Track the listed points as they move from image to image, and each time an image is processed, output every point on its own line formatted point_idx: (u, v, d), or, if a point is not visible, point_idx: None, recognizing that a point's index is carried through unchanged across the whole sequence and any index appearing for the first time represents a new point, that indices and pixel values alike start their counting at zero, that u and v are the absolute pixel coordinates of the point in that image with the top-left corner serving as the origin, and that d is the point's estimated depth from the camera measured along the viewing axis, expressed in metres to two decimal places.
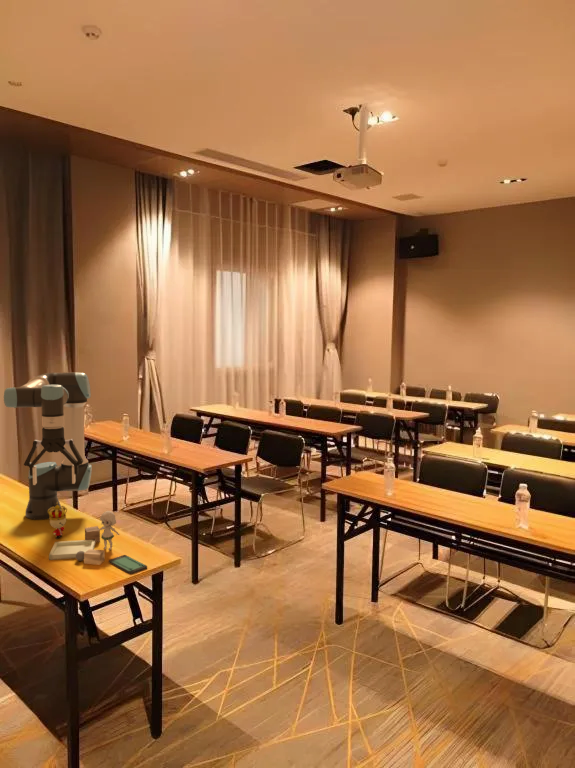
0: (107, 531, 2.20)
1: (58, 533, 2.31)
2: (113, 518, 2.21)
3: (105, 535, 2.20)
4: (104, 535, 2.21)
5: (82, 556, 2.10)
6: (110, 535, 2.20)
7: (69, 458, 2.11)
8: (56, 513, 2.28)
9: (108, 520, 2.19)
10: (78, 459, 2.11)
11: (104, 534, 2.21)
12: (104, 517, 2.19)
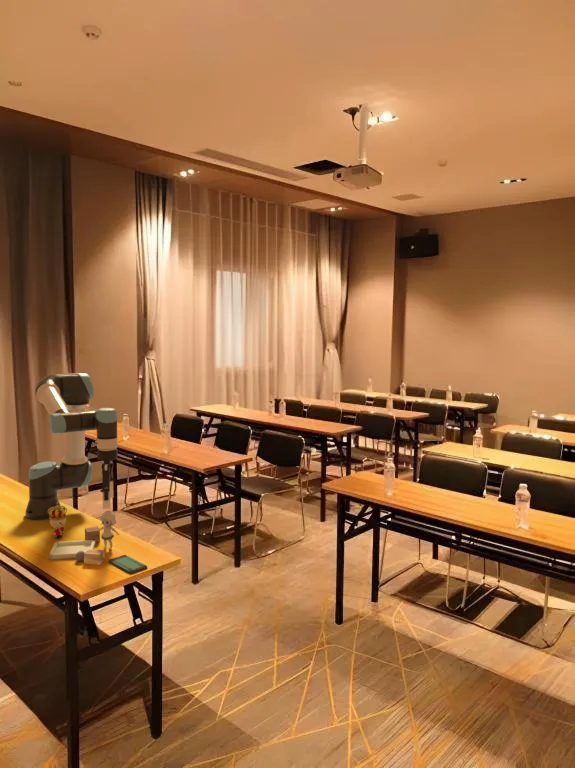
0: (107, 531, 2.20)
1: (58, 533, 2.31)
2: (113, 518, 2.21)
3: (105, 535, 2.20)
4: (104, 535, 2.21)
5: (82, 556, 2.10)
6: (110, 535, 2.20)
7: None
8: (56, 513, 2.28)
9: (108, 520, 2.19)
10: (102, 486, 2.11)
11: (104, 534, 2.21)
12: (104, 517, 2.19)
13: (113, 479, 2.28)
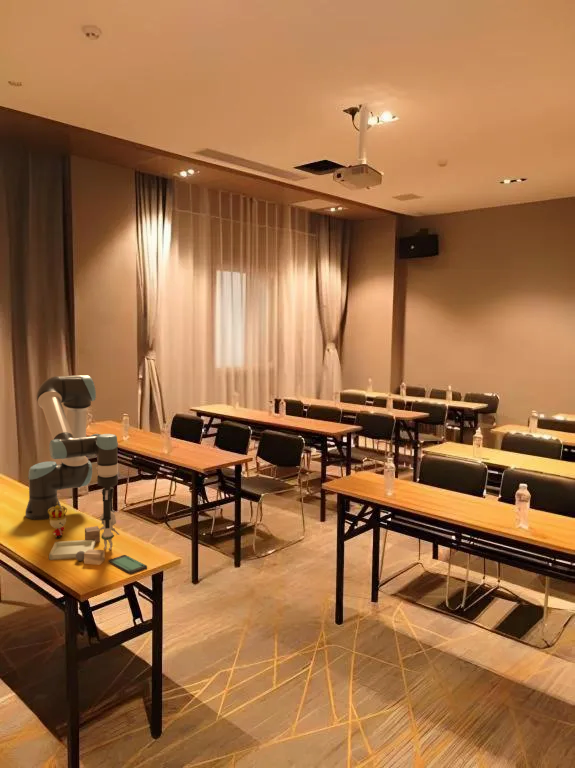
0: None
1: (58, 533, 2.31)
2: (113, 518, 2.21)
3: None
4: None
5: (82, 556, 2.10)
6: None
7: None
8: (56, 513, 2.28)
9: None
10: None
11: None
12: None
13: (113, 511, 2.26)
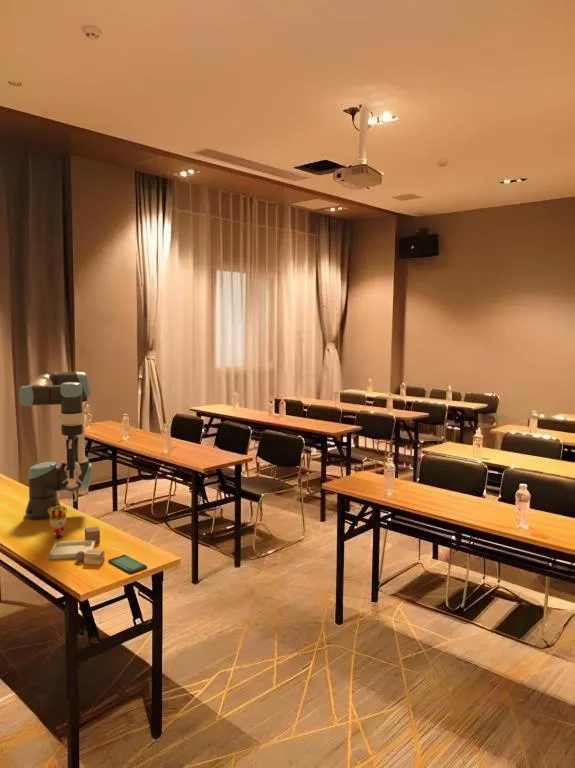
0: None
1: (58, 533, 2.31)
2: (78, 469, 2.15)
3: None
4: (69, 487, 2.15)
5: (82, 556, 2.10)
6: None
7: None
8: (56, 513, 2.28)
9: None
10: (67, 464, 2.09)
11: None
12: None
13: (78, 462, 2.20)
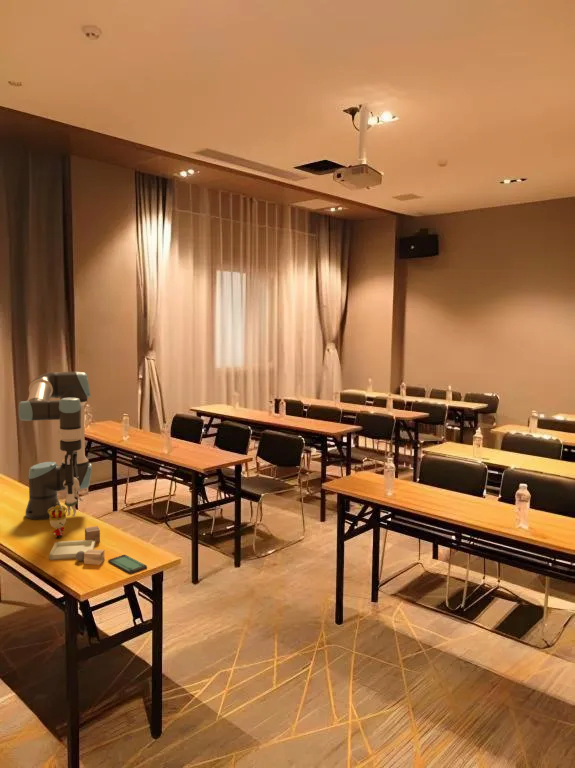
0: None
1: (58, 533, 2.31)
2: (76, 484, 2.15)
3: None
4: (67, 502, 2.15)
5: (82, 556, 2.10)
6: None
7: None
8: (56, 513, 2.28)
9: None
10: None
11: None
12: None
13: (77, 477, 2.20)
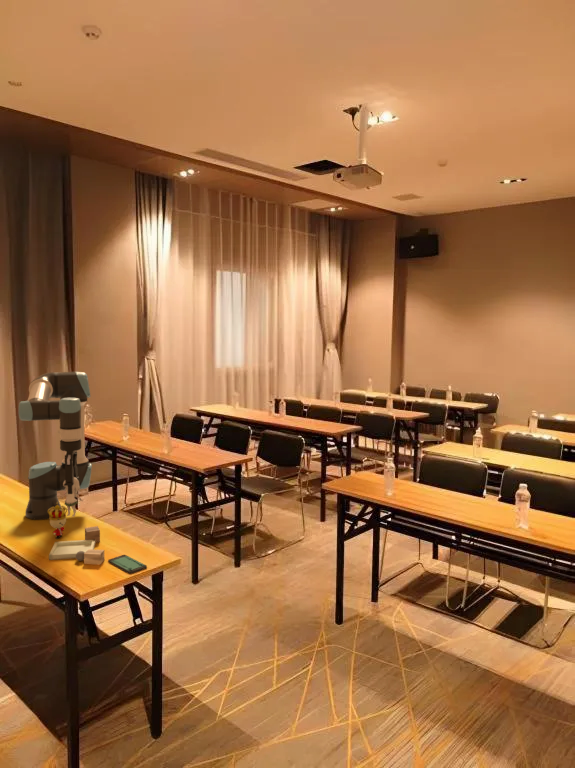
0: None
1: (58, 533, 2.31)
2: (76, 484, 2.15)
3: None
4: (67, 502, 2.15)
5: (82, 556, 2.10)
6: None
7: None
8: (56, 513, 2.28)
9: None
10: None
11: None
12: None
13: (77, 477, 2.20)
